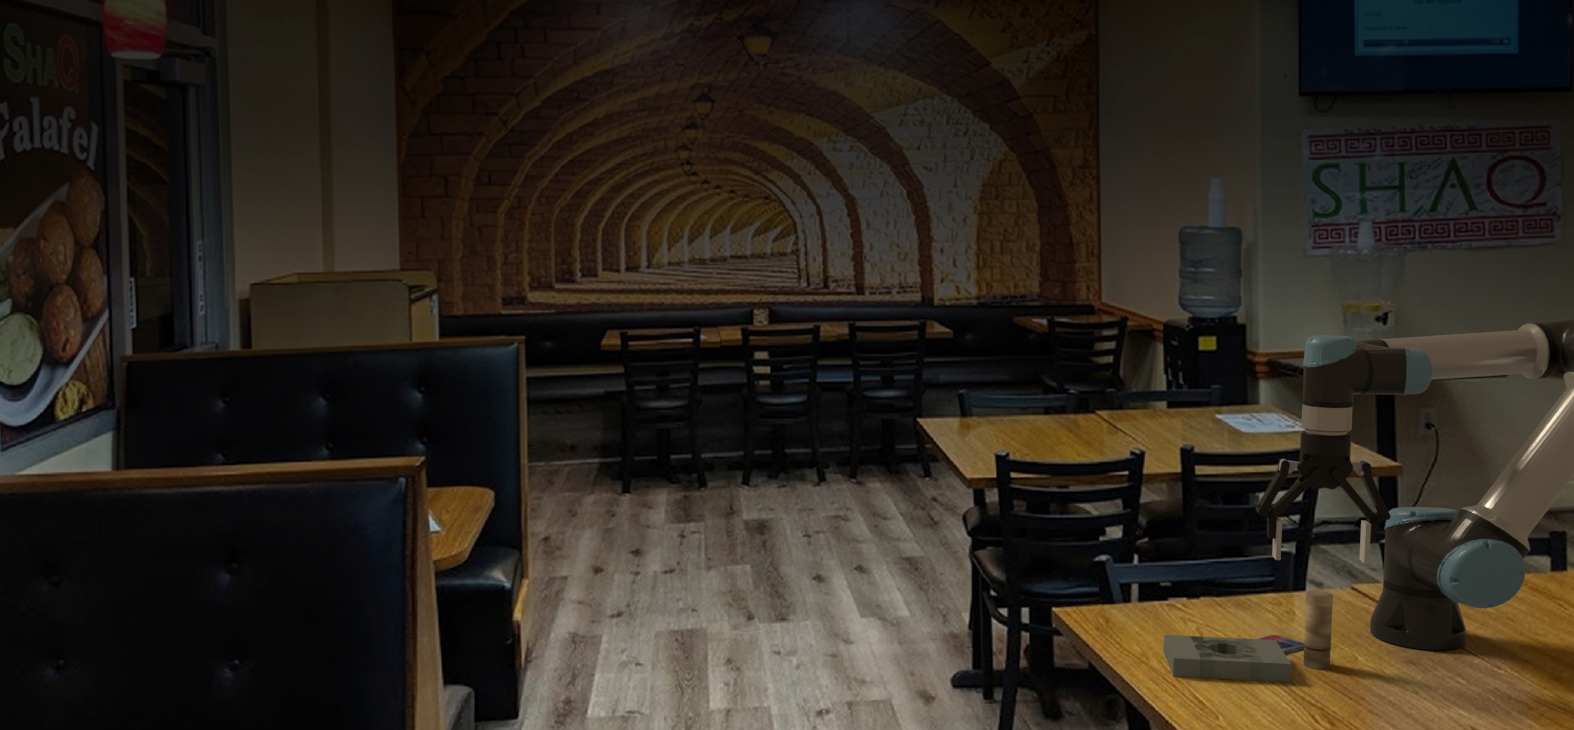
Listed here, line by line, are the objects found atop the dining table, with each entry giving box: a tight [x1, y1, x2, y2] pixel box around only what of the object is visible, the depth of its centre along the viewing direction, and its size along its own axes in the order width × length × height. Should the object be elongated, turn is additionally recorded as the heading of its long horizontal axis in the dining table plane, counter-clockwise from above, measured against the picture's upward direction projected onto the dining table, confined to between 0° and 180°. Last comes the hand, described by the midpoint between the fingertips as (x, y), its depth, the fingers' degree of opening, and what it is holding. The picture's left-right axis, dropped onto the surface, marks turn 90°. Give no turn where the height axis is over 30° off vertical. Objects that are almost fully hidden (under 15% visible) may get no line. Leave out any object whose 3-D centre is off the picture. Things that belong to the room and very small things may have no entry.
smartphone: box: [1257, 634, 1304, 655], centre depth 217 cm, size 7×1×15 cm
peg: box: [1303, 590, 1334, 670], centre depth 209 cm, size 4×4×12 cm
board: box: [1163, 634, 1292, 683], centre depth 209 cm, size 18×12×3 cm, turn 81°
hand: (1320, 559), depth 208 cm, fingers open, 13 cm apart
